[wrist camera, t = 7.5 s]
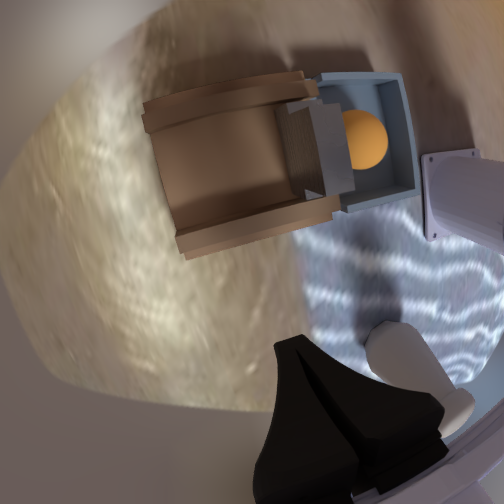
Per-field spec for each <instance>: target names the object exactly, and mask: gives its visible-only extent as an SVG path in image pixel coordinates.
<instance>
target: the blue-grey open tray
mask: <svg viewBox="0 0 504 504" xmlns="http://www.w3.org/2000/svg"><path fill="white" fill-rule="evenodd" d="M315 79H316V83H317V87H318V91H319V96H317V97H314V98H312V99H310V100H316V99H322V102H323V105H324V104H334V103H340V107H341V111H342V113H343V112H345V111H348V110H363V111H366V112H369V113H371V114H372V115H374V116H375V117H376V118H378V119H379V120H380V122H381V123H382V124H383V126H384V128H385V130H386V133H387V137H388V146H387V151H386V153H385V155H384V157H383V158H382V160H381V161H380V162H379V163H378V164H376V165H375V166H373V167H371V168H368V169H362V170H360V169H352V170H353V176H354V183H355V190H354V191H349V192H345V193H341V194H339V198H340V205H341V211H344V212H346V213H352V212H355V211H359V210H363V209H367V208H371V207H374V206H378V205H382V204H386V203H390V202H394V201H398V200H401V199H405V198H409V197H413V196H417V195H420V181H419V171H418V161H417V153H416V146H415V139H414V132H413V126H412V121H411V115H410V110H409V105H408V100H407V96H406V91H405V87H404V83H403V79H402V75H401V73H387V72H331V73H320V74H318V75H317V76H315V77H313V78H312V79H305V80H315Z"/></svg>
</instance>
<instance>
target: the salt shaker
mask: <svg viewBox="0 0 504 504" xmlns="http://www.w3.org/2000/svg"><path fill="white" fill-rule="evenodd" d="M365 351H366V357H367V362H368V364H369V367H370V369H371V371H372V372H373V373H375V374H376V375H377V376H378V377H380V378H381V379H382V380H383V381H385V382H386V383H387V384H388V385H391V386H394V387H398V388H402V389H407V390H413V391H419V392H427V393H430V394H431V395H432V396H433V397H435V398H436V399H437V400H438V401H439V402H440V403H441V405H442V406H443V407H444V408H445V414H444V417H443V419H442V422H441V424H440V426H439V428H438V430H439V431H440V433H441V434H442V437H441V438H445V437H447V436H449V435H451V434H452V433H453V432H455V431H456V430H458V429H459V428H460V427H461V426H462V425H463V424H464V423H465V422H466V420H467V419H468V418H469V416H470V414H471V413H472V412H473V410H474V406H475V399H474V398H473V396H472V395H471V394H470V393H469V392H468V391H467V390H465V389H463V388H458V389H455V387H454V385H453V384H452V382H451V380H450V379H449V377H448V376H447V374H446V372H445V371H444V369H443V368H442V366H441V365H440V363H439V362H438V360H437V359H436V357H435V355H434V354H433V352H432V351H431V349H430V348H429V347H428V345H427V344H426V342H425V341H424V339H423V338H422V336H421V335H420V333H419V332H418V331H417V329H415V328H414V327H413V326H411V325H410V324H408V323H401V322H391V321H387V320H385V321H384V322H382V323H381V324H380V325H378V326H377V327H375V328H374V329H372V330H371V332H370V334H369V336H368V339H367V341H366V344H365Z"/></svg>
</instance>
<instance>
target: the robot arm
mask: <svg viewBox="0 0 504 504" xmlns="http://www.w3.org/2000/svg"><path fill="white" fill-rule="evenodd" d="M429 158H430V161H429ZM421 164H422V174H423V186H424V201H425V238H426V240H427V241H429V242H432V241H435V240H437V239H440V238H442V237H445V236H447V235H450V234H452V233H454V234H457V235H459V236H462V237H464V238H466V239H468V240H471V241H473V242H475V243H478V244H480V245H482V246H484V247H486V248H489V249H491V250H493V251H495V252H497V253H499V254H501V255H503V256H504V162H500V161H495V160H489V159H482V158H481V156H480V150H479V149H478V148H472V149H462V150H454V151H445V152H437V153H430V154H424V155H422V157H421ZM433 235H434V236H433ZM273 346H274V350H275V354H276V358H277V364H278V382H277V395H276V402H275V408H274V413H273V417H272V422H271V426H270V429H269V432H268V435H267V438H266V441H265V444H264V447H263V449H262V451H261V453H260V455H259V458H258V460H257V462H256V464H255V470H254V477H253V495H254V498H255V502H256V504H495V503H494V502H493V501H492V499H491V498H490V497H489V495H488V494H487V493H486V491H485V490H484V488H483V487H482V486H481V484H480V483H479V481H480V480H481V479H483V478H484V477H485V476H486V475H487V474H488V473H489V472H490V471H491V470H493V469H494V468H495V467H496V466H497V465H498V464H499V463H500V462H501V461H502V460H503V459H504V398H503V399H502V400H501V401H500V402H498V403H497V405H495V406H494V407H493V408H492V409H491V410H490V411H489V412H488V413H486V414H485V415H484V416H483V417H482V418H481V419H480V420H478V421H477V422H476V423H475V424H474V425H472V426H471V427H470V428H469V429H467V430H466V431H465V432H464V433H463V434H461V435H460V436H458V437H457V438H456V439H454V440H453V441H452V442H450V443H449V444H448V445H445V444H444V442H443V441H442V440H441V439H440V438H441V437H442V434H441V433H440V431H439V430H438V428H439V426H440V424H441V422H442V419H443V417H444V414H445V408H444V407H443V406H442V405H441V403H440V402H439V401H438V400H437V399H436V398H435V397H433V396H432V395H431V394H430V393H427V392H419V391H413V390H407V389H402V388H398V387H394V386H391V385H388V384H385V383H382V382H379V381H376V380H373V379H371V378H368V377H366V376H364V375H362V374H360V373H358V372H356V371H354V370H352V369H350V368H348V367H347V366H345V365H343V364H342V363H340V362H338V361H337V360H335V359H334V358H332V357H331V356H330V355H328V354H327V353H325V352H324V351H323V350H321V349H320V348H319V347H317V346H316V345H315V344H314V343H313V342H311V341H310V340H309V339H308V338H307V337H306V336H305V335H303V334H301V335H298V336H295V337H292V338H289V339H286V340H283V341H279V342H276V343H275V344H274V345H273ZM351 492H352V495H353V498H351Z"/></svg>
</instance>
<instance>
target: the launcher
mask: <svg viewBox="0 0 504 504" xmlns="http://www.w3.org/2000/svg"><path fill="white" fill-rule="evenodd" d="M317 96H319V91H318V87H317V83H316V79H315V80H305V78H304V74H303V71H291V72H282V73H273V74H266V75H259V76H252V77H246V78H240V79H235V80H229V81H224V82H219V83H215V84H210V85H206V86H201V87H197V88H193V89H189V90H185V91H181V92H178V93H174V94H171V95H167V96H164V97H160V98H157V99H154V100H151V101H148V102H145V103H143V107H144V111H145V114H143V115H141V116H142V120H143V125H144V129H145V132H146V133H148V134H150V137H151V141H152V145H153V149H154V153H155V156H156V160H157V164H158V168H159V172H160V175H161V179H162V182H163V186H164V190H165V193H166V197H167V200H168V204H169V207H170V210H171V214H172V217H173V220H174V224H175V227H176V230H177V231H176V235H175V240H176V243H177V246H178V249H179V252H180V254H181V253H184V255H185V258H186V261H187V260H190V259H194V258H197V257H201V256H204V255H208V254H211V253H215V252H218V251H222V250H225V249H229V248H233V247H236V246H240V245H243V244H247V243H251V242H254V241H258V240H261V239H265V238H269V237H272V236H276V235H279V234H283V233H287V232H290V231H294V230H298V229H301V228H305V227H309V226H312V225H316V224H320V223H323V222H327V221H331V220H333V218H332V212H335V211H339V210H341V205H340V198H339V194H336V195H332V196H328V197H325V196H322V197H318V198H314V199H310V200H305V199H303V198H300V197H298V196H296V195H294V194H292V191H291V186H290V181H289V177H288V172H287V167H286V162H285V158H284V153H283V148H282V144H281V139H280V135H279V131H278V126H277V122H276V118H275V113H274V110H275V109H277V108H279V107H280V106H282V105H284V104H286V103H291V102H299V101H307V100H310V99H312V98H314V97H317Z"/></svg>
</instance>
